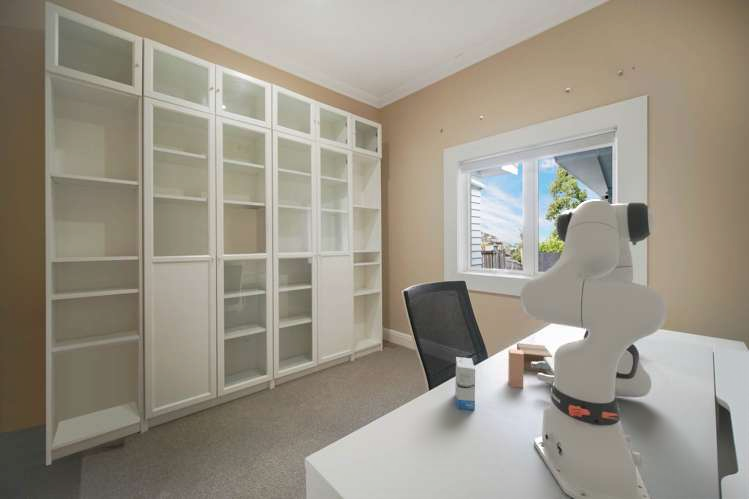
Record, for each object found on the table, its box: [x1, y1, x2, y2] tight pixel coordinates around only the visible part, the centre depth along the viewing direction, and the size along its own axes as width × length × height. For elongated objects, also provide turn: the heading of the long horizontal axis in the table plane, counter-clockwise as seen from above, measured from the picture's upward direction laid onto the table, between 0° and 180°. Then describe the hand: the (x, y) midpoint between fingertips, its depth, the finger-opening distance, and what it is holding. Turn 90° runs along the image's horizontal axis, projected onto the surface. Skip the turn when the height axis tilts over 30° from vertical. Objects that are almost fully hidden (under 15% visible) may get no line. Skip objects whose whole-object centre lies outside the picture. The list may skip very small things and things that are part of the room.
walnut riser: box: [516, 342, 553, 373], centre depth 116 cm, size 12×10×6 cm
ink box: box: [454, 356, 476, 411], centre depth 88 cm, size 8×5×12 cm, turn 168°
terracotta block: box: [507, 348, 525, 389], centre depth 100 cm, size 4×4×11 cm
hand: (533, 370), depth 98 cm, fingers open, 8 cm apart
